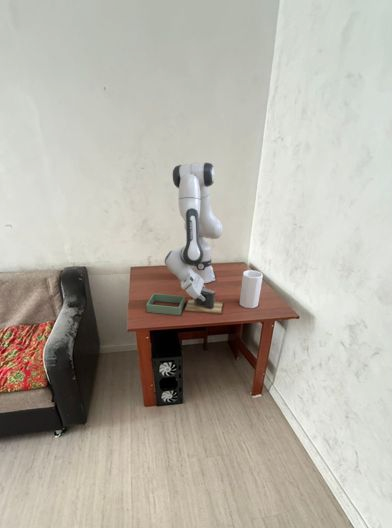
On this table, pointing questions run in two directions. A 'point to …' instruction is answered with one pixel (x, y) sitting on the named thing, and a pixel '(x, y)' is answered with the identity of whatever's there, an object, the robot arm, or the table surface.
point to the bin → (165, 309)
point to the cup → (250, 288)
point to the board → (193, 307)
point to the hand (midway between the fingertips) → (205, 296)
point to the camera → (208, 301)
